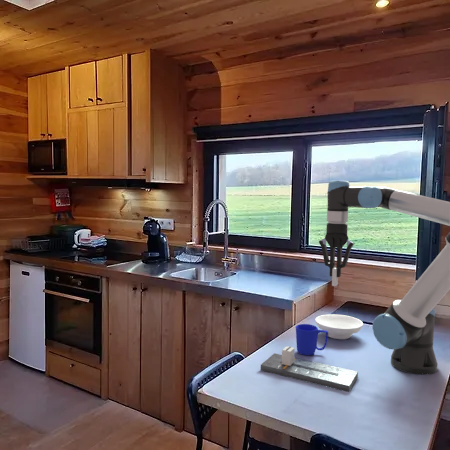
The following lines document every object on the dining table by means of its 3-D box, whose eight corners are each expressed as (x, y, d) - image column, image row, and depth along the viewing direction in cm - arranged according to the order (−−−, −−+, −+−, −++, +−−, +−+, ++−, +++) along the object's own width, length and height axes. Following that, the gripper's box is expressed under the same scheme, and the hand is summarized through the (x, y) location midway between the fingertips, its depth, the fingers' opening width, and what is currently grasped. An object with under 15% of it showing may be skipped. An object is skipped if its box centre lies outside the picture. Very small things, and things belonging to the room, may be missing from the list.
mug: (327, 359, 157) (328, 332, 156) (294, 356, 159) (295, 329, 158) (327, 350, 165) (327, 325, 164) (295, 348, 167) (296, 323, 166)
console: (357, 377, 142) (358, 371, 142) (349, 392, 131) (349, 385, 131) (274, 358, 157) (274, 352, 156) (260, 370, 146) (260, 364, 146)
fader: (294, 361, 148) (294, 347, 148) (290, 365, 145) (290, 351, 145) (286, 360, 150) (286, 345, 149) (281, 363, 146) (282, 349, 146)
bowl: (355, 348, 167) (356, 331, 167) (308, 339, 178) (308, 323, 177) (367, 334, 184) (368, 319, 183) (323, 326, 194) (324, 311, 194)
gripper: (357, 222, 158) (354, 285, 160) (322, 221, 164) (320, 281, 166) (352, 224, 151) (350, 289, 153) (316, 222, 158) (314, 285, 160)
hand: (334, 285), depth 160 cm, fingers closed
